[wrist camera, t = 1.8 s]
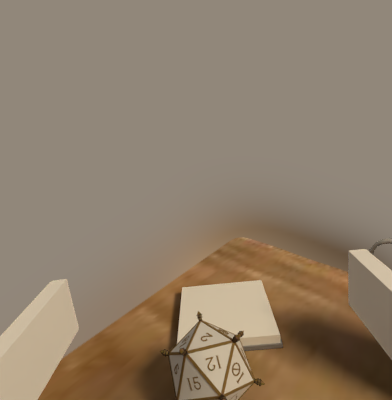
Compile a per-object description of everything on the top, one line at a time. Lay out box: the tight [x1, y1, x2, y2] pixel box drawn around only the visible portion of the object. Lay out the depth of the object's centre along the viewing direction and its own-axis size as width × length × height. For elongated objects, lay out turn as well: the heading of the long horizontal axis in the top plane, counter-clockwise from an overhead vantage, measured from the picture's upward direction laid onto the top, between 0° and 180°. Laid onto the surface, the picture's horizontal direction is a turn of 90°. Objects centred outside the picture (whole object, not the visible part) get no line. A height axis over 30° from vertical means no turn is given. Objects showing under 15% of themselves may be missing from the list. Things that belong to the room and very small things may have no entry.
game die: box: [160, 311, 264, 400], centre depth 30 cm, size 9×8×10 cm
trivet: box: [177, 280, 283, 351], centre depth 42 cm, size 12×12×2 cm
